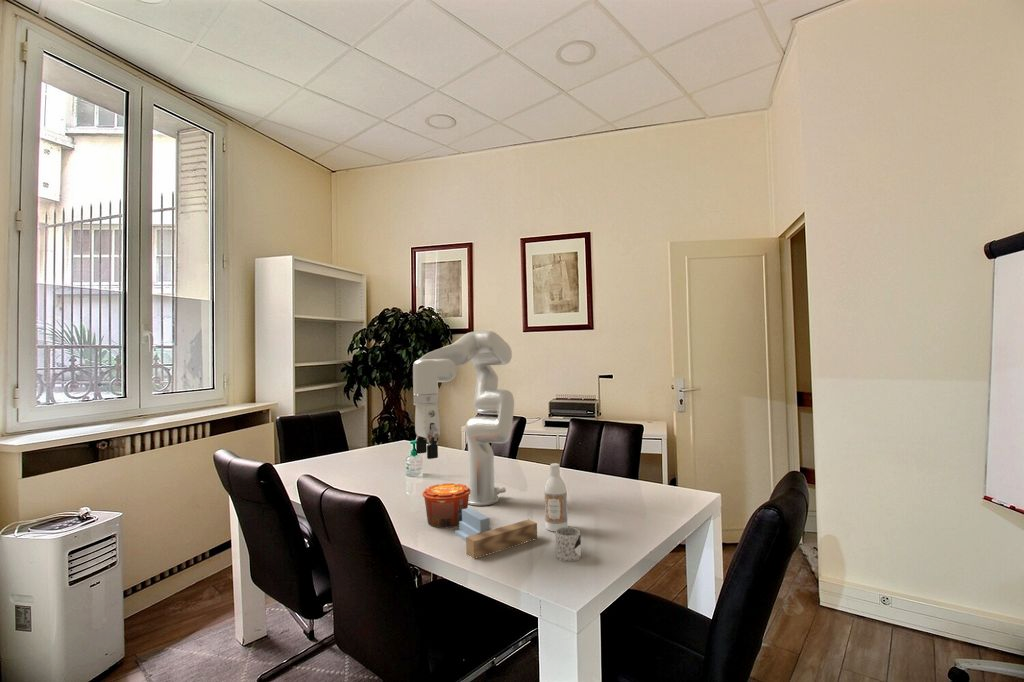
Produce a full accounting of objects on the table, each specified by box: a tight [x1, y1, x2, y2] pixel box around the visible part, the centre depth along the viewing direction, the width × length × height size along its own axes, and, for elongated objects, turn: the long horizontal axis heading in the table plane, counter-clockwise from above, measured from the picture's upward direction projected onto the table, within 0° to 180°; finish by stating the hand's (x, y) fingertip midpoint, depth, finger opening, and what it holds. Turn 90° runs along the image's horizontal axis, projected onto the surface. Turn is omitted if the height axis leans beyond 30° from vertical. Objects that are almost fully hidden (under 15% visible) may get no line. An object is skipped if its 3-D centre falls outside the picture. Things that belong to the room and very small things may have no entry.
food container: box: [422, 482, 471, 529], centre depth 159 cm, size 16×16×11 cm
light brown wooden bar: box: [465, 519, 538, 559], centre depth 137 cm, size 22×4×5 cm, turn 126°
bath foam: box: [544, 462, 569, 533], centre depth 150 cm, size 7×7×20 cm
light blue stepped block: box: [454, 507, 493, 541], centre depth 144 cm, size 8×12×7 cm, turn 33°
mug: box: [555, 526, 582, 562], centre depth 131 cm, size 10×7×7 cm
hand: (426, 455), depth 146 cm, fingers open, 9 cm apart
